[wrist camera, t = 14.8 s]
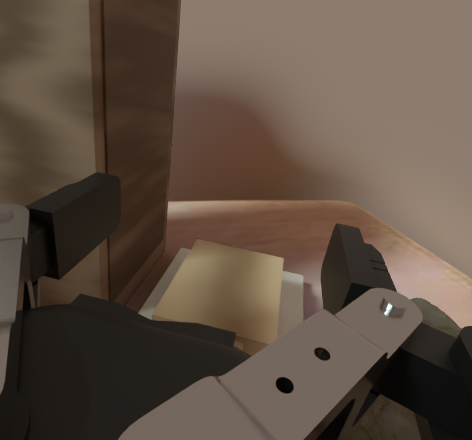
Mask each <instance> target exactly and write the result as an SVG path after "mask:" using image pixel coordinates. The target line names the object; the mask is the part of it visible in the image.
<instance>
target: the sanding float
mask: <svg viewBox="0 0 472 440" xmlns="http://www.w3.org/2000/svg"><path fill="white" fill-rule="evenodd" d="M283 261H284V258H281V257H276V256H272V255H267V254H263V253H258V252H254V251H250V250H245V249H241V248H236V247H232V246H227V245H223V244H218V243H214V242H210V241H205V240H201V239H197V240H196V242H195V243H194V245H193V247H192V248H191V250H190V252H189V253H188V255H187V257H186V258H185V260H184V262H183V263H182V265H181V267H180V268H179V270H178V272H177V273H176V275H175V277H174V278H173V280H172V282H171V283H170V285H169V287H168V289H167V290H166V292H165V294H164V295H163V297H162V299H161V300H160V302H159V304H158V305H157V307H156V309H155V310H154V312H153V314H152V320H156V321H174V322H192V323H200V324H204V325H208V326H212V327H216V328H220V329H224V330H228V331H232V332H236V337H235V342H234V346H236V347H238V348H240V349H241V350H243V351H244V352H246V353H248V354H249V355H250V356H253V355H255V354H256V353H257V352H259V351H260V350H262V349H263V348H265V347H266V346H268V345H269V344H271V343H272V342H274V341H275V340H276V339H277V327H278V316H279V305H280V294H281V283H282V272H283Z"/></svg>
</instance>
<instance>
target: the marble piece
mask: <svg viewBox="0 0 472 440" xmlns="http://www.w3.org/2000/svg"><path fill="white" fill-rule="evenodd" d="M411 301H412V302H413V303H415V304H416V305H417V307H418V308H419V309H420V311H421V313H422V316H423V319H422V322H423V323H425V324H427V325H428V326H431V327H433V328H435V329H437V330H440V331H442V332H444V333H446V334H449V335H451V336H453V337H456V338H457V336H458V334H459V333H460V331H461V330H462V329H461V328H460V327H459V326H458V325H457V324H456V323H455V322H454V321H453V320H452V319H451V318H450V317H449V316H447V315H446V314H445V313H444V312H443V311H441V310H440V309H439V308H438V307H436V306H434V305H432V304H430V302H428V301H427V300H424V299H422V298H414V299H411ZM347 440H421V437H420V433H419V429H418V426H417V422H416V418H415V413H414V412H413V411H411V410H409V409H407V408H405V407H404V406H402V405H400V404H398V403H396V402H394V401H392V400H391V399H389V398H387V397H385V396H383V395H382V397H381V398H380V399H379V401H378V402H377V403H376V404H375V406H374V407H373V408H372V409H371V411H370V412H369V413H368V414H367V416H366V417H365V418H364V419H363V421H362V422H361V423H360V424H359V425H358V427H357V428H356V429H355V430H354V432H353V433H352V434H351V435H350V437H349V438H348V439H347Z"/></svg>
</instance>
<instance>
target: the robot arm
mask: <svg viewBox="0 0 472 440" xmlns="http://www.w3.org/2000/svg"><path fill="white" fill-rule="evenodd" d="M120 218H121V183H120V179H119V177H118V176H114V175H110V174H105V173H100V172H96V173H94V174H92V175H90V176H88V177H86V178H84V179H83V180H81V181H79V182H77V183H72V184H68V185H66V186H64V187H62V188H60V189H58V190H57V191H54V192H52V193H50V194H49V195H48V196H47V195H46V196H44V197H42V198H40V199H38V200H37V201H35V202H33V203H31V204H29V205H27V206H25V207H24V206H21V205H16V204H0V440H347V439H348V438H349V437H350V435H351V434H352V433H353V432H354V430H355V429H356V428H357V427H358V425H359V424H360V423H361V422H362V421H363V419H364V418H365V417H366V416H367V414H368V413H369V412H370V411H371V409H372V408H373V407H374V406H375V404H376V403H377V402H378V401H379V399H380V398H381V397H382V395H383V396H385V397H387V398H389V399H391V400H392V401H394V402H396V403H398V404H400V405H402V406H404V407H405V408H407V409H409V410H411V411H413V412H414V413H415V418H416V422H417V426H418V429H419V433H420V437H421V440H472V326H467V327H464V328H462V330H461V331H460V333H459V334H458V336H457V338H456V337H453V336H451V335H449V334H446V333H444V332H442V331H440V330H437V329H435V328H433V327H431V326H428V325H427V324H425V323H423V322H422V319H423V316H422V313H421V311H420V309H419V308H418V307H417V305H416V304H415V303H413V302H412V301H411V300H410V299H408V298H407V297H405V296H403V295H401V294H400V293H397V291H396V288H395V286H394V284H393V281H392V279H391V276H390V274H389V272H388V269H387V267H386V265H385V262H384V260H383V257H382V255H381V253H380V252H379V251H378V250H377V249H375V248H374V247H373V246H372V245H370V244H366V243H364V241H363V238H362V235H361V232H360V229H359V228H357V227H352V226H347V225H342V224H338V223H337V224H336V225H335V227H334V230H333V233H332V236H331V239H330V242H329V245H328V248H327V252H326V255H325V258H324V261H323V265H322V270H321V287H322V298H323V309H322V310H320V311H318V312H317V313H315V314H314V315H312V316H311V317H309V318H308V319H306V320H305V321H303V322H302V323H300V324H299V325H297V326H296V327H294V328H293V329H292V330H290V331H289V332H287V333H286V334H284V335H283V336H281V337H280V338H278V339H277V340H275V341H274V342H272V343H271V344H269V345H268V346H266V347H265V348H263V349H262V350H260V351H259V352H257V353H256V354H255V355H253V356H250V355H249V354H248V353H246V352H244V351H243V350H241V349H240V348H238V347H236V346H234V342H235V337H236V332H232V331H228V330H224V329H220V328H216V327H212V326H208V325H204V324H200V323H192V322H174V321H156V320H151V319H148V318H146V317H144V316H142V315H140V314H138V313H136V312H134V311H132V310H131V309H129V308H127V307H125V306H123V305H121V304H119V303H116V302H112V301H108V300H104V299H100V298H96V297H92V296H88V295H84V294H79V295H78V296H77V297H76V298H75V299H74V300H73V302H72V303H71V304H56V305H47V306H41V307H40V285H39V278H40V277H41V276H45V277H49V278H53V279H57V280H60V279H61V278H62V277H63V276H65V275H66V274H67V273H68V272H69V271H70V270H71V269H72V268H74V267H75V266H76V265H77V264H78V263H79V262H80V261H81V260H83V259H84V258H85V257H86V256H87V255H88V254H89V253H90V252H92V251H93V250H94V249H95V248H96V247H97V246H98V245H99V244H101V243H102V242H103V241H104V240H105V239H106V238H107V237H108V236H110V235H111V234H112V233H113V232H114V231H115V230H116V229H117V227H118V225H119V222H120Z"/></svg>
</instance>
